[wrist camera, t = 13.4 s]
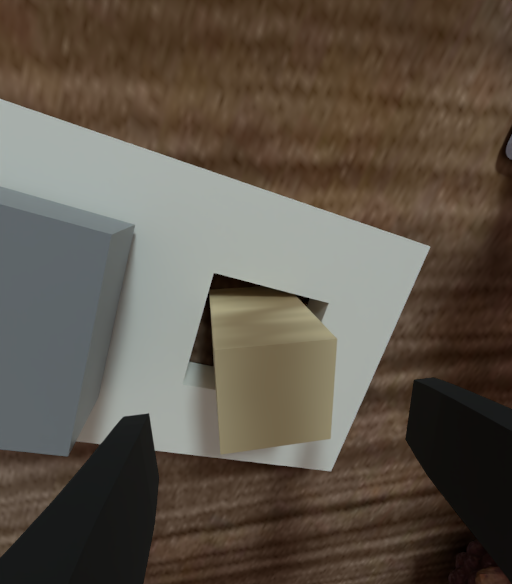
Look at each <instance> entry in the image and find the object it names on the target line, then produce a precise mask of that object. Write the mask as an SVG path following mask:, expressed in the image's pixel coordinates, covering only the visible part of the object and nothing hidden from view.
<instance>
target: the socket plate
mask: <svg viewBox="0 0 512 584" xmlns="http://www.w3.org/2000/svg"><path fill="white" fill-rule="evenodd" d="M0 186H1V187H4V188H8V189H11V190H15V191H18V192H22V193H25V194H29V195H32V196H36V197H39V198H43V199H46V200H50V201H53V202H57V203H60V204H64V205H68V206H71V207H75V208H78V209H82V210H85V211H89V212H92V213H96V214H99V215H103V216H106V217H110V218H113V219H117V220H120V221H124V222H127V223H131V224H134V225H135V228H134V233H133V238H132V242H131V247H130V252H129V256H128V261H127V266H126V270H125V275H124V280H123V285H122V289H121V294H120V299H119V303H118V308H117V313H116V317H115V322H114V327H113V332H112V336H111V341H110V346H109V350H108V355H107V360H106V364H105V369H104V374H103V378H102V383H101V388H100V393H99V397H98V399H97V401H96V403H95V405H94V407H93V409H92V411H91V413H90V415H89V417H88V419H87V421H86V423H85V425H84V426H83V428H82V430H81V432H80V434H79V436H78V438H77V440H76V441H77V442H86V443H94V444H101V443H102V442H103V441H104V439H105V438H106V437H107V436H108V434H109V433H110V432H111V431H112V429H113V428H114V427H115V426H116V424H117V423H118V422H119V421H120V420H121V419H122V418H123V417H124V416H132V415H140V414H148V413H149V416H150V423H151V429H152V436H153V442H154V449H155V451H162V452H171V453H179V454H188V455H196V456H205V457H213V458H222V459H231V460H239V461H248V462H256V463H265V464H273V465H282V466H290V467H299V468H307V469H316V470H324V471H331V470H332V468H333V466H334V463H335V461H336V459H337V457H338V454H339V452H340V450H341V448H342V445H343V443H344V441H345V439H346V436H347V434H348V432H349V430H350V427H351V425H352V423H353V421H354V418H355V416H356V414H357V411H358V409H359V407H360V405H361V402H362V400H363V398H364V396H365V393H366V391H367V389H368V387H369V384H370V382H371V380H372V378H373V375H374V373H375V371H376V369H377V366H378V364H379V362H380V359H381V357H382V355H383V353H384V350H385V348H386V346H387V344H388V341H389V339H390V337H391V335H392V332H393V330H394V328H395V326H396V323H397V321H398V319H399V317H400V314H401V312H402V310H403V307H404V305H405V303H406V301H407V298H408V296H409V294H410V292H411V289H412V287H413V285H414V283H415V280H416V278H417V276H418V274H419V271H420V269H421V267H422V265H423V262H424V260H425V258H426V256H427V253H428V251H429V249H430V246H427V245H424V244H421V243H418V242H415V241H413V240H410V239H407V238H404V237H401V236H398V235H395V234H392V233H389V232H386V231H383V230H380V229H378V228H375V227H372V226H369V225H366V224H363V223H360V222H357V221H354V220H351V219H348V218H345V217H343V216H340V215H337V214H334V213H331V212H328V211H325V210H322V209H319V208H316V207H313V206H311V205H308V204H305V203H302V202H299V201H296V200H293V199H290V198H287V197H284V196H281V195H278V194H276V193H273V192H270V191H267V190H264V189H261V188H258V187H255V186H252V185H249V184H246V183H243V182H241V181H238V180H235V179H232V178H229V177H226V176H223V175H220V174H217V173H214V172H211V171H209V170H206V169H203V168H200V167H197V166H194V165H191V164H188V163H185V162H182V161H179V160H176V159H174V158H171V157H168V156H165V155H162V154H159V153H156V152H153V151H150V150H147V149H144V148H141V147H139V146H136V145H133V144H130V143H127V142H124V141H121V140H118V139H115V138H112V137H109V136H107V135H104V134H101V133H98V132H95V131H92V130H89V129H86V128H83V127H80V126H77V125H74V124H72V123H69V122H66V121H63V120H60V119H57V118H54V117H51V116H48V115H45V114H42V113H39V112H37V111H34V110H31V109H28V108H25V107H22V106H19V105H16V104H13V103H10V102H7V101H5V100H2V99H0ZM214 273H216V274H220V275H224V276H228V277H231V278H235V279H239V280H243V281H247V282H250V283H254V284H258V285H262V286H266V287H269V288H273V289H277V290H281V291H285V292H288V293H292V294H296V295H300V296H303V297H307V298H310V299H309V301H308V304H307V308H308V309H309V310H310V311H311V312H312V313H313V314H314V315H315V316H316V317H317V318H318V319H319V320H320V321H321V322H322V323H323V325H324V326H325V327H326V328H327V329H328V330H329V331H330V332H331V333H332V334H333V335H334V336H335V337H336V338H337V351H336V366H335V381H334V396H333V411H332V426H331V439H326V440H319V441H312V442H305V443H298V444H291V445H284V446H277V447H271V448H264V449H257V450H250V451H243V452H236V453H229V454H222V455H221V454H220V441H219V428H218V415H217V401H216V388H215V375H214V366H209V365H203V364H198V363H193V362H189V359H190V356H191V352H192V349H193V345H194V342H195V338H196V334H197V331H198V327H199V324H200V320H201V317H202V313H203V310H204V306H205V303H206V299H207V296H208V292H209V288H210V285H211V281H212V278H213V274H214Z"/></svg>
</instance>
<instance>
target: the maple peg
mask: <svg viewBox="0 0 512 584" xmlns="http://www.w3.org/2000/svg"><path fill="white" fill-rule="evenodd" d="M209 298H210V314H211V330H212V346H213V362H214V375H215V388H216V401H217V415H218V428H219V441H220V454H221V455H222V454H229V453H236V452H243V451H250V450H257V449H264V448H271V447H277V446H284V445H291V444H298V443H305V442H312V441H319V440H326V439H331V426H332V411H333V396H334V381H335V366H336V351H337V338H336V337H335V336H334V335H333V334H332V333H331V332H330V331H329V330H328V329H327V328H326V327H325V326H324V325H323V323H322V322H321V321H320V320H319V319H318V318H317V317H316V316H315V315H314V314H313V313H312V312H311V311H310V310H309V309H308V308H307V307H306V306H305V305H304V304H303V303H302V302H301V301H300V300H299V299H298V298H297V296H296V295H295V294H292V293H288V292H285V291H281V290H277V289H273V288H269V287H266V286H259V287H243V288H226V289H210V290H209Z"/></svg>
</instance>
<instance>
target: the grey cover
mask: <svg viewBox="0 0 512 584" xmlns="http://www.w3.org/2000/svg"><path fill="white" fill-rule="evenodd" d="M134 228H135V225H134V224H131V223H127V222H124V221H120V220H117V219H113V218H110V217H106V216H103V215H99V214H96V213H92V212H89V211H85V210H82V209H78V208H75V207H71V206H68V205H64V204H60V203H57V202H53V201H50V200H46V199H43V198H39V197H36V196H32V195H29V194H25V193H22V192H18V191H15V190H11V189H8V188H4V187H1V186H0V449H2V450H11V451H21V452H30V453H39V454H49V455H58V456H69V454H70V452H71V450H72V448H73V446H74V444H75V442H76V440H77V438H78V436H79V434H80V432H81V430H82V428H83V426H84V425H85V423H86V421H87V419H88V417H89V415H90V413H91V411H92V409H93V407H94V405H95V403H96V401H97V399H98V397H99V393H100V388H101V383H102V378H103V374H104V369H105V364H106V360H107V355H108V350H109V346H110V341H111V336H112V332H113V327H114V322H115V317H116V313H117V308H118V303H119V299H120V294H121V289H122V285H123V280H124V275H125V270H126V266H127V261H128V256H129V252H130V247H131V242H132V238H133V233H134Z"/></svg>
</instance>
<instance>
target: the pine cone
mask: <svg viewBox="0 0 512 584" xmlns="http://www.w3.org/2000/svg"><path fill="white" fill-rule="evenodd" d="M448 580H449V583H450V584H511V582H510V581H509V580H508V578H507V577H506V576H505V574H504V573H503V572H502V570H501V569H500V568H499V566H498V565H497V564H496V562H495V561H494V560H493V559H492V557H491V556H490V555H489V554H488V552H487V551H486V550H485V549H484V547H483V546H482V545H481V543H480V542H479V541H472V542H470V543H469V544H468V546H467V552H461V553H459V554H457V555H456V567H455V570H453V571H452V572H451V573H450V574H449V576H448Z"/></svg>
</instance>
